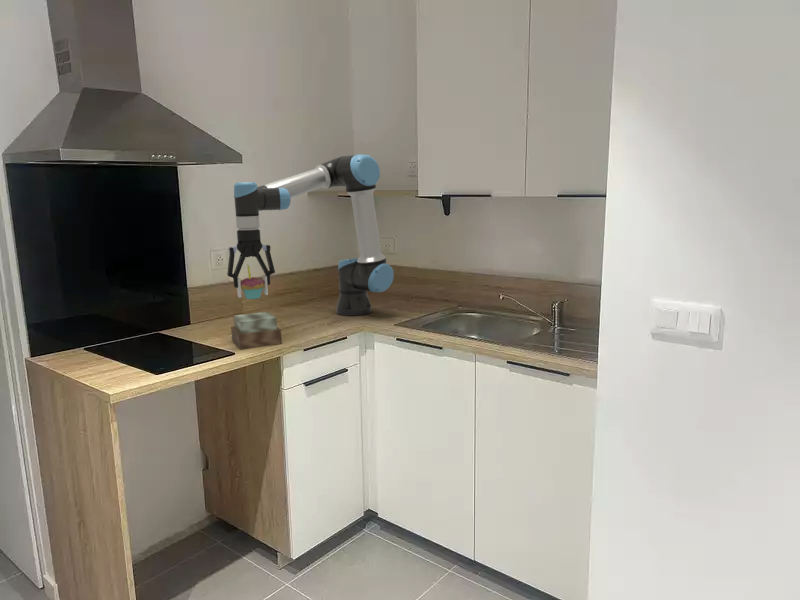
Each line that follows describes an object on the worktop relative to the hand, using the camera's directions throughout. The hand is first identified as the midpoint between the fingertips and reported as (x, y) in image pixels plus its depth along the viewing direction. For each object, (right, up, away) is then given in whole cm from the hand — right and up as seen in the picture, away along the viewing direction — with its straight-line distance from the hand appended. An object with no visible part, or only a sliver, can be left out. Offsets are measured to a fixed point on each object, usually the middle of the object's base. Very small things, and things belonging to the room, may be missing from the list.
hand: (252, 295), depth 197 cm
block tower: (0, -16, +3) cm, 16 cm away
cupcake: (0, -1, 0) cm, 1 cm away
